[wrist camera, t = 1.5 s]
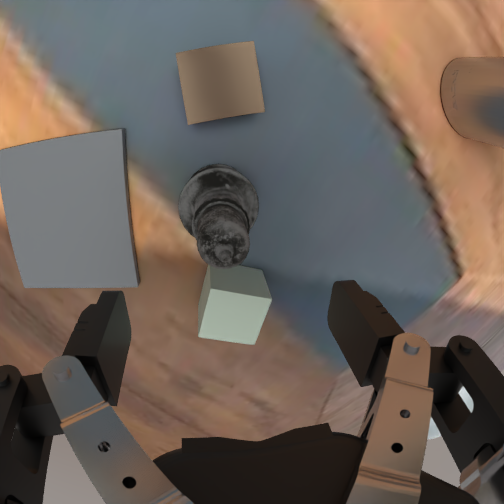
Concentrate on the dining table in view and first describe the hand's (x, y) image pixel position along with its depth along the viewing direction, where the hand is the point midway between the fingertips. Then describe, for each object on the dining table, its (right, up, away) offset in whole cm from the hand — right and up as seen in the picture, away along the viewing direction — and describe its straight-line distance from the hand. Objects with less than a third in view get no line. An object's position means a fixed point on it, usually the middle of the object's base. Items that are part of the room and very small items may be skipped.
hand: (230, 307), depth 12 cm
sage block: (-1, -1, +18) cm, 18 cm away
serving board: (-16, +5, +13) cm, 21 cm away
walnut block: (-2, +15, +11) cm, 18 cm away
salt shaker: (-2, +7, +15) cm, 16 cm away
